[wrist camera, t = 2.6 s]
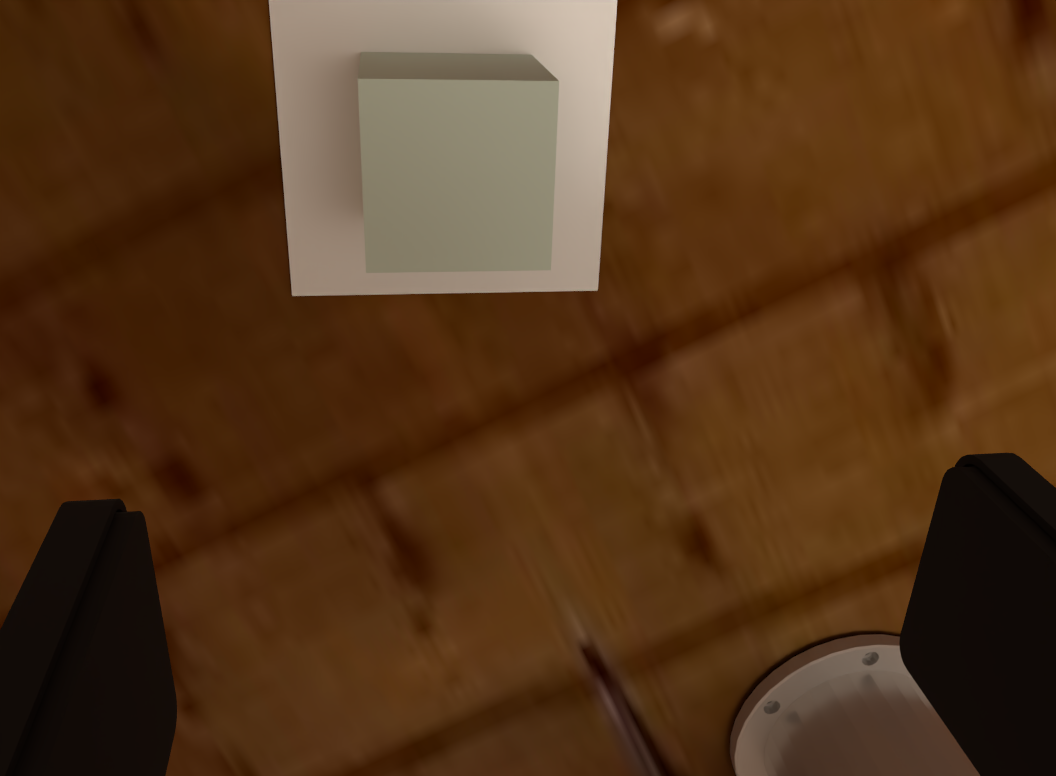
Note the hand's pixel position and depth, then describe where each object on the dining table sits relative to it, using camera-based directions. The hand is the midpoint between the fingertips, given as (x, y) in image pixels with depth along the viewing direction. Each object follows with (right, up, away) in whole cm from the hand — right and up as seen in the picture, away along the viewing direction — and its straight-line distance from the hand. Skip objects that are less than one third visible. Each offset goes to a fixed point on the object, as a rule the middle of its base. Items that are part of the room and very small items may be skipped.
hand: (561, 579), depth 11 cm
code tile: (-3, +11, +25) cm, 27 cm away
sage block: (-3, +11, +24) cm, 27 cm away
